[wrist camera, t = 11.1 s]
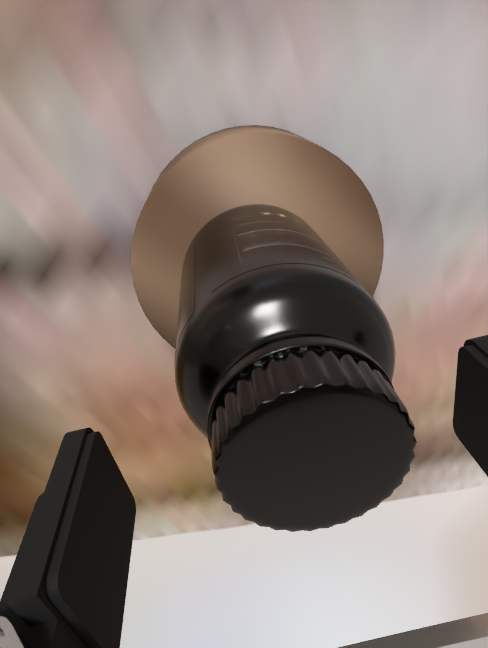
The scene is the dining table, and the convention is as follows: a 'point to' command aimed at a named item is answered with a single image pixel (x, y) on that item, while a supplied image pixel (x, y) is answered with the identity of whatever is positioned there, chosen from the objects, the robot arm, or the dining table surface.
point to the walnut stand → (245, 189)
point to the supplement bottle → (288, 373)
